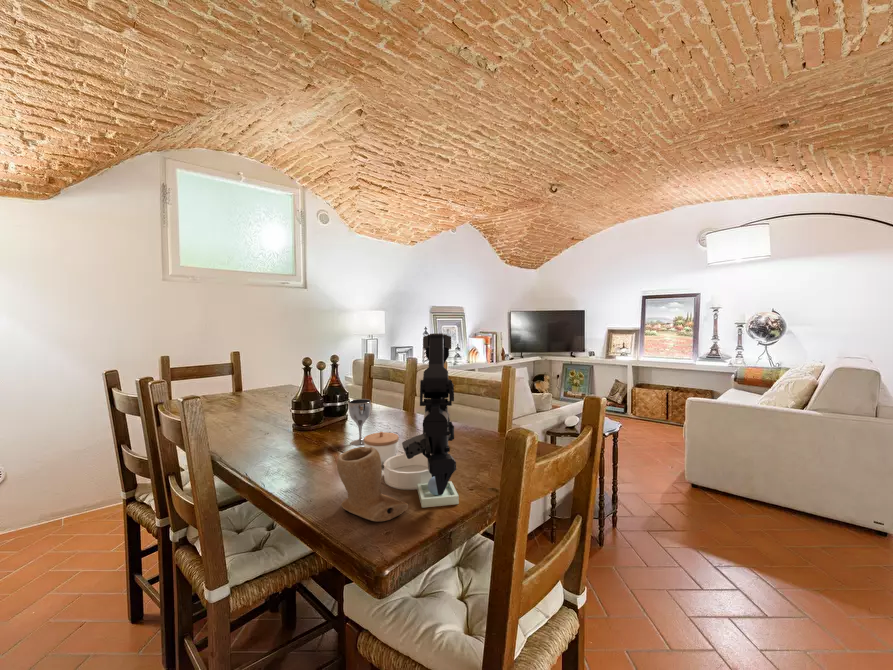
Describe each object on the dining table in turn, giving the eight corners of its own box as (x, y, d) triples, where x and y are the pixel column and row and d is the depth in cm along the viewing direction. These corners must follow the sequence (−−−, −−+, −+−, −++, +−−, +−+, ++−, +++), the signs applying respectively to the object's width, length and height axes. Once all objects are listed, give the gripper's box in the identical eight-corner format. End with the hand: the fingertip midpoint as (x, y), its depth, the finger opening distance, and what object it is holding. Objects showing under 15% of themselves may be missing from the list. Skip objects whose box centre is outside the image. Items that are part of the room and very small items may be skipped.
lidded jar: (404, 457, 133) (403, 428, 133) (390, 469, 123) (390, 438, 123) (373, 454, 136) (373, 426, 136) (358, 466, 126) (357, 435, 125)
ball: (444, 489, 107) (444, 472, 106) (447, 497, 102) (447, 479, 102) (426, 491, 106) (426, 473, 106) (429, 499, 101) (429, 480, 101)
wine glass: (373, 444, 147) (372, 402, 146) (351, 447, 144) (349, 404, 143) (369, 437, 154) (368, 398, 153) (347, 440, 151) (346, 399, 150)
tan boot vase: (327, 512, 97) (326, 449, 96) (368, 495, 106) (367, 437, 105) (368, 535, 87) (367, 465, 86) (409, 513, 96) (408, 450, 95)
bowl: (383, 470, 123) (383, 455, 122) (435, 466, 125) (434, 451, 125) (385, 492, 107) (385, 475, 107) (444, 487, 110) (443, 470, 110)
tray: (417, 491, 108) (417, 484, 108) (451, 488, 109) (451, 481, 109) (421, 507, 99) (421, 499, 99) (458, 504, 100) (458, 495, 100)
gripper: (401, 417, 111) (402, 474, 112) (407, 438, 92) (408, 507, 93) (442, 415, 113) (442, 471, 114) (456, 435, 94) (457, 502, 95)
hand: (437, 486), depth 104 cm, fingers open, 9 cm apart
